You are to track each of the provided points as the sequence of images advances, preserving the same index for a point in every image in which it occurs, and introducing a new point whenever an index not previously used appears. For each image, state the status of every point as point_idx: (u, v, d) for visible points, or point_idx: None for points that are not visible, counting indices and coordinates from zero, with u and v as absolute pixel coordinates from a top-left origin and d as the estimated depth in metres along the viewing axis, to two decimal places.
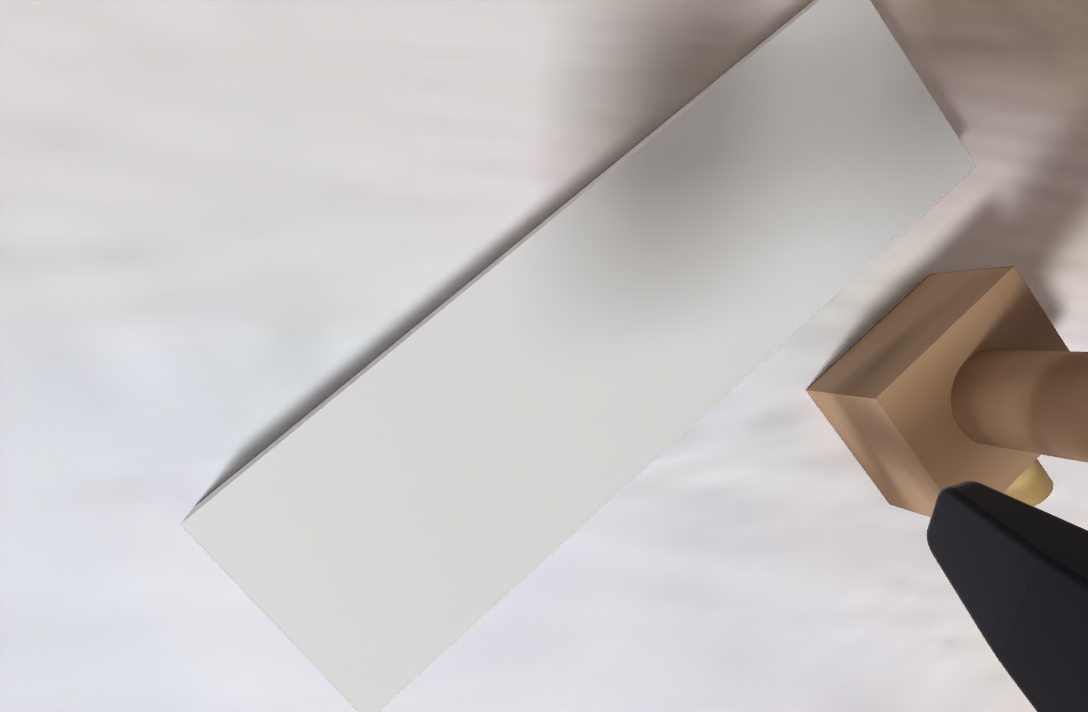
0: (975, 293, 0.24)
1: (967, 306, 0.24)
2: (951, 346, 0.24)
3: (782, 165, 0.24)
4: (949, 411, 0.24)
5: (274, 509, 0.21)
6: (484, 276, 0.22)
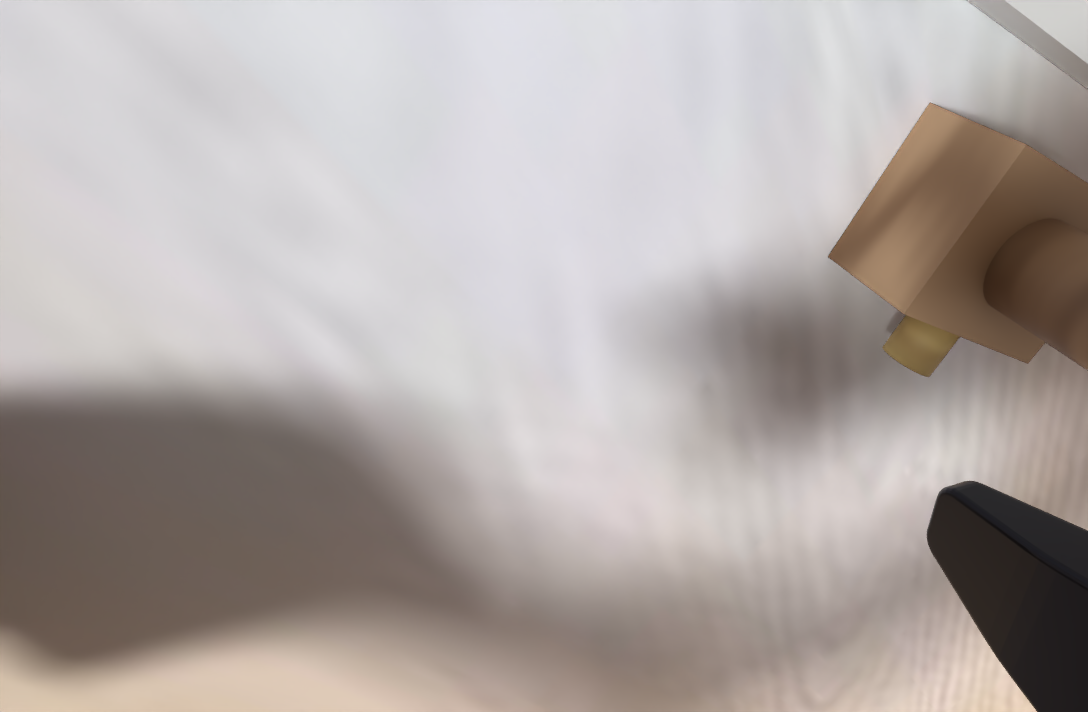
0: None
1: None
2: (1074, 198, 0.22)
3: None
4: (1015, 230, 0.22)
5: None
6: None
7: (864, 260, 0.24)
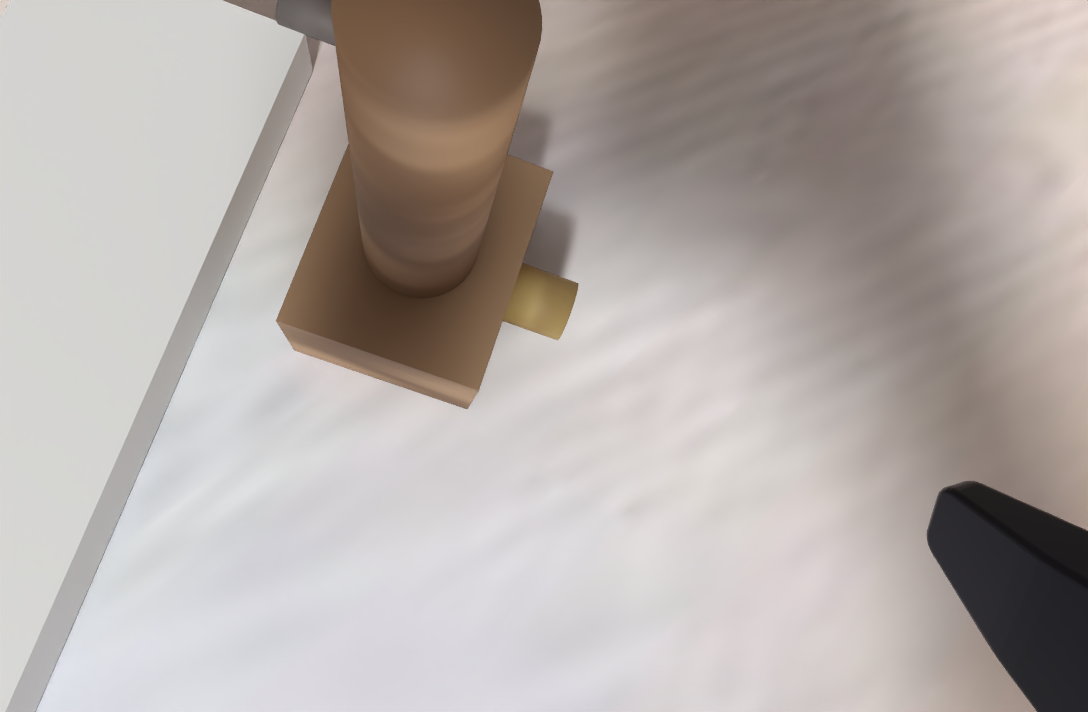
0: (349, 151, 0.21)
1: (339, 169, 0.20)
2: (338, 219, 0.20)
3: (71, 151, 0.21)
4: (376, 284, 0.20)
5: None
6: None
7: (451, 396, 0.22)
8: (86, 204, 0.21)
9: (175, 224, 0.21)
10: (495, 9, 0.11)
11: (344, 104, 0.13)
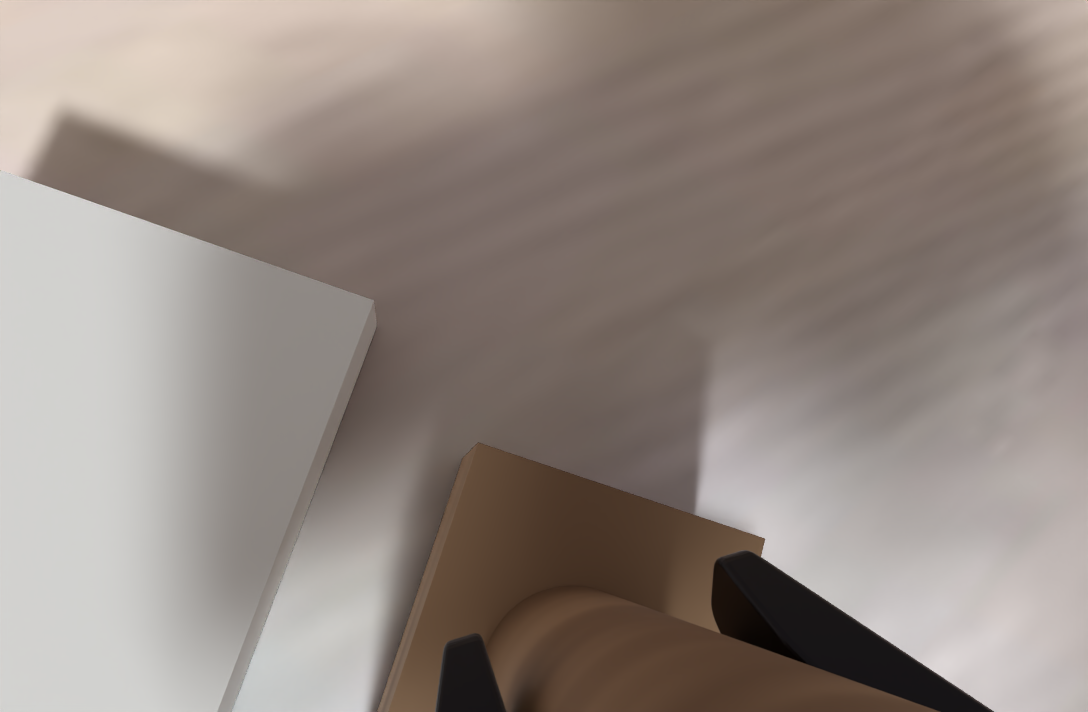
0: (451, 519, 0.13)
1: (439, 559, 0.13)
2: (440, 651, 0.12)
3: (15, 522, 0.13)
4: None
5: None
6: None
7: None
8: (38, 611, 0.13)
9: (179, 634, 0.13)
10: None
11: None
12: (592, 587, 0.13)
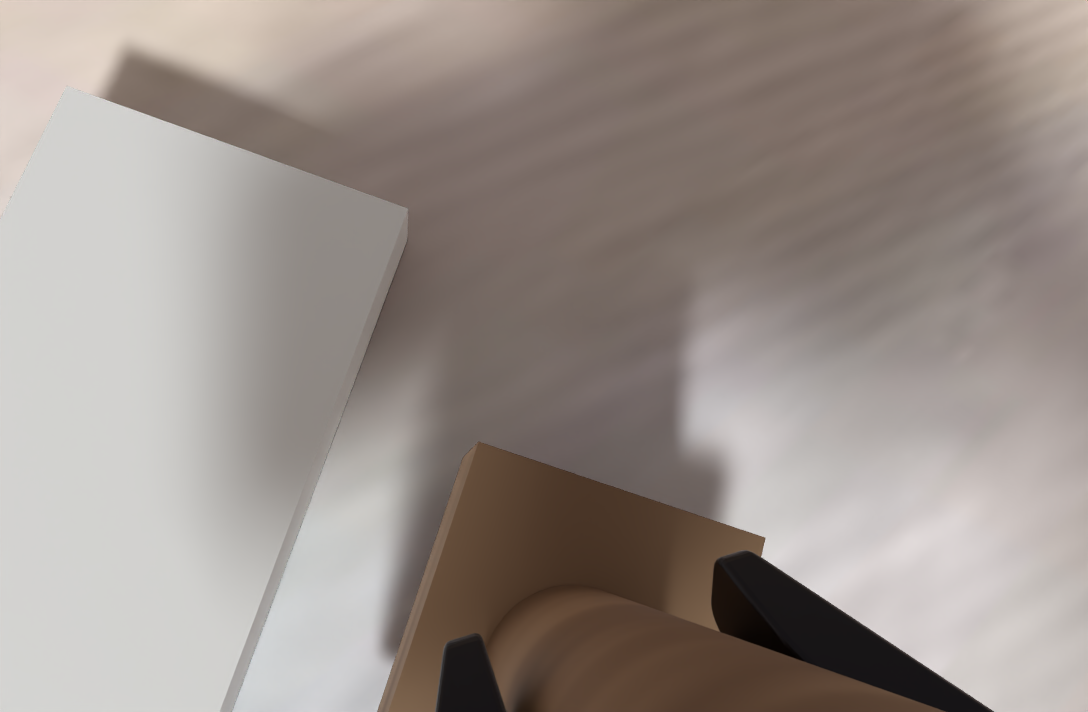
0: (451, 518, 0.13)
1: (439, 557, 0.13)
2: (441, 650, 0.12)
3: (104, 391, 0.15)
4: None
5: None
6: None
7: None
8: (125, 466, 0.15)
9: (245, 487, 0.15)
10: None
11: None
12: (592, 586, 0.13)
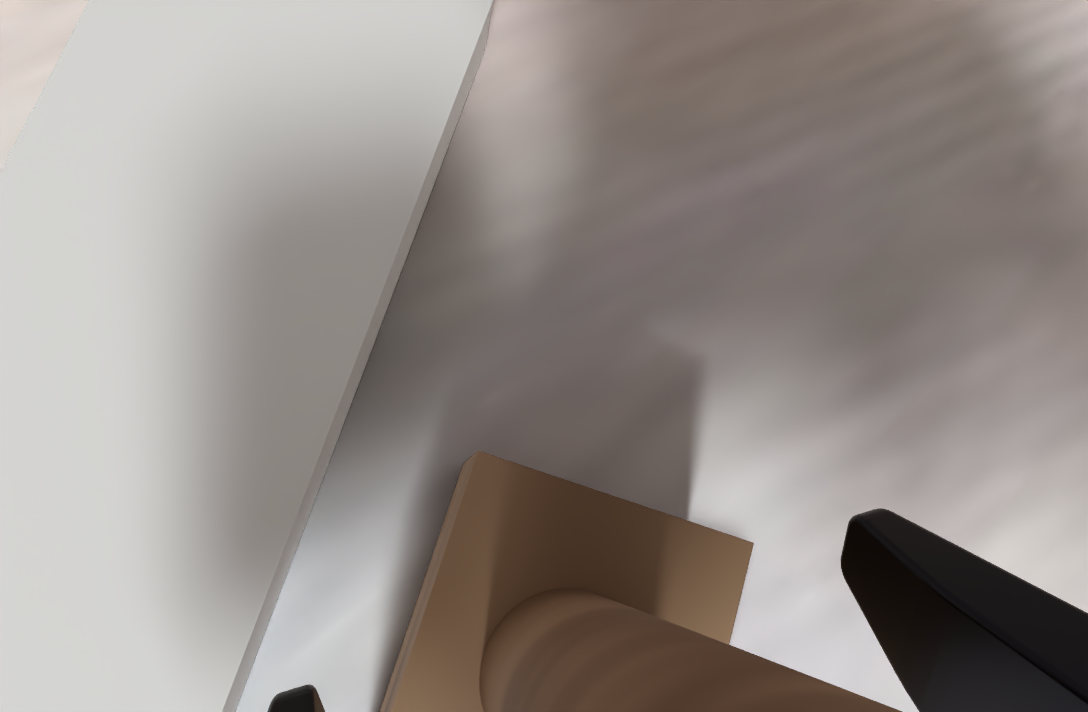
0: (451, 524, 0.14)
1: (440, 562, 0.13)
2: (441, 651, 0.13)
3: (199, 155, 0.15)
4: None
5: None
6: None
7: None
8: (221, 226, 0.15)
9: (338, 253, 0.15)
10: None
11: None
12: (587, 589, 0.14)
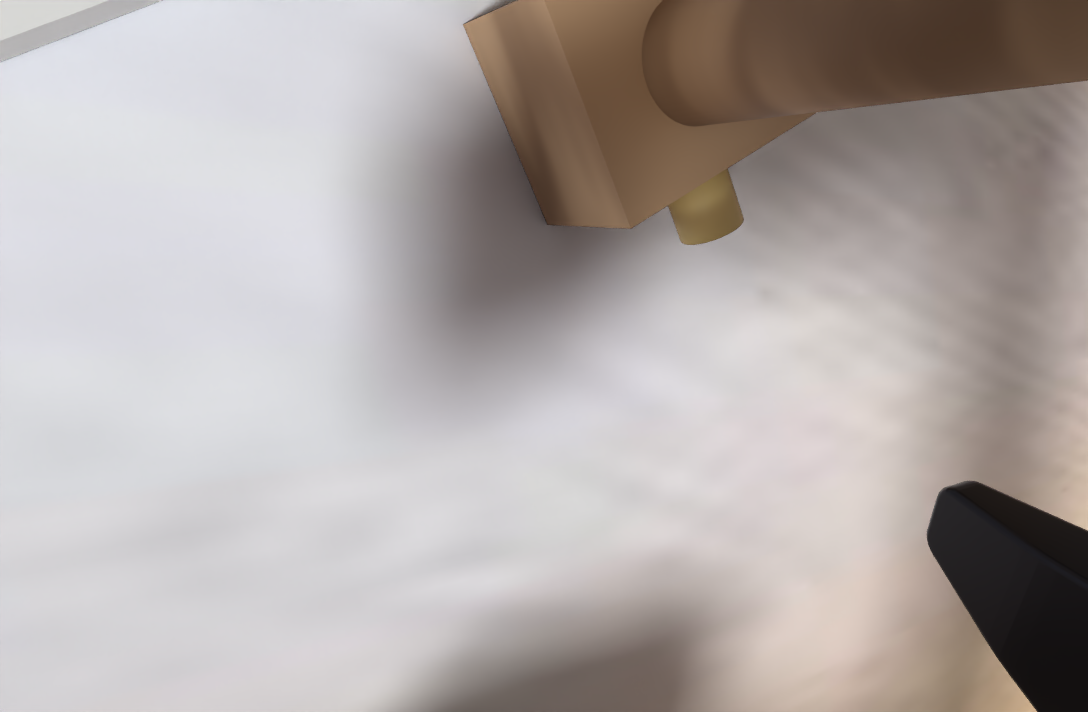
0: None
1: None
2: None
3: None
4: (638, 53, 0.17)
5: None
6: None
7: (566, 205, 0.19)
8: None
9: None
10: None
11: None
12: None
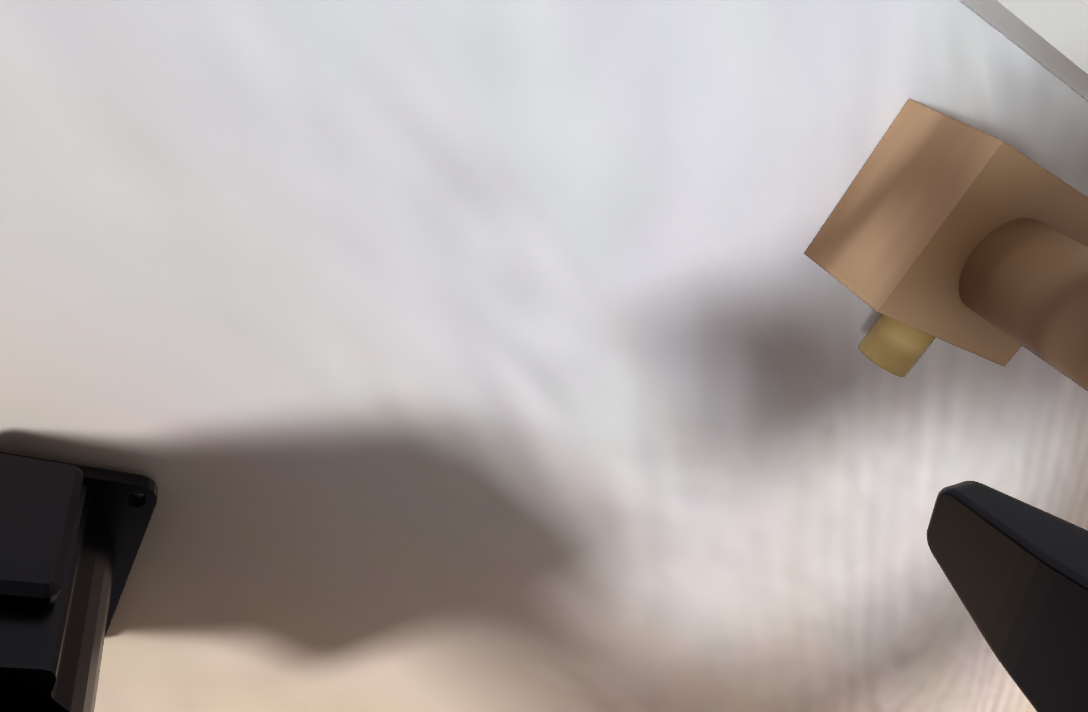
0: None
1: (1085, 196, 0.22)
2: (1052, 198, 0.22)
3: None
4: (991, 229, 0.21)
5: None
6: None
7: (840, 257, 0.23)
8: None
9: None
10: None
11: None
12: None
